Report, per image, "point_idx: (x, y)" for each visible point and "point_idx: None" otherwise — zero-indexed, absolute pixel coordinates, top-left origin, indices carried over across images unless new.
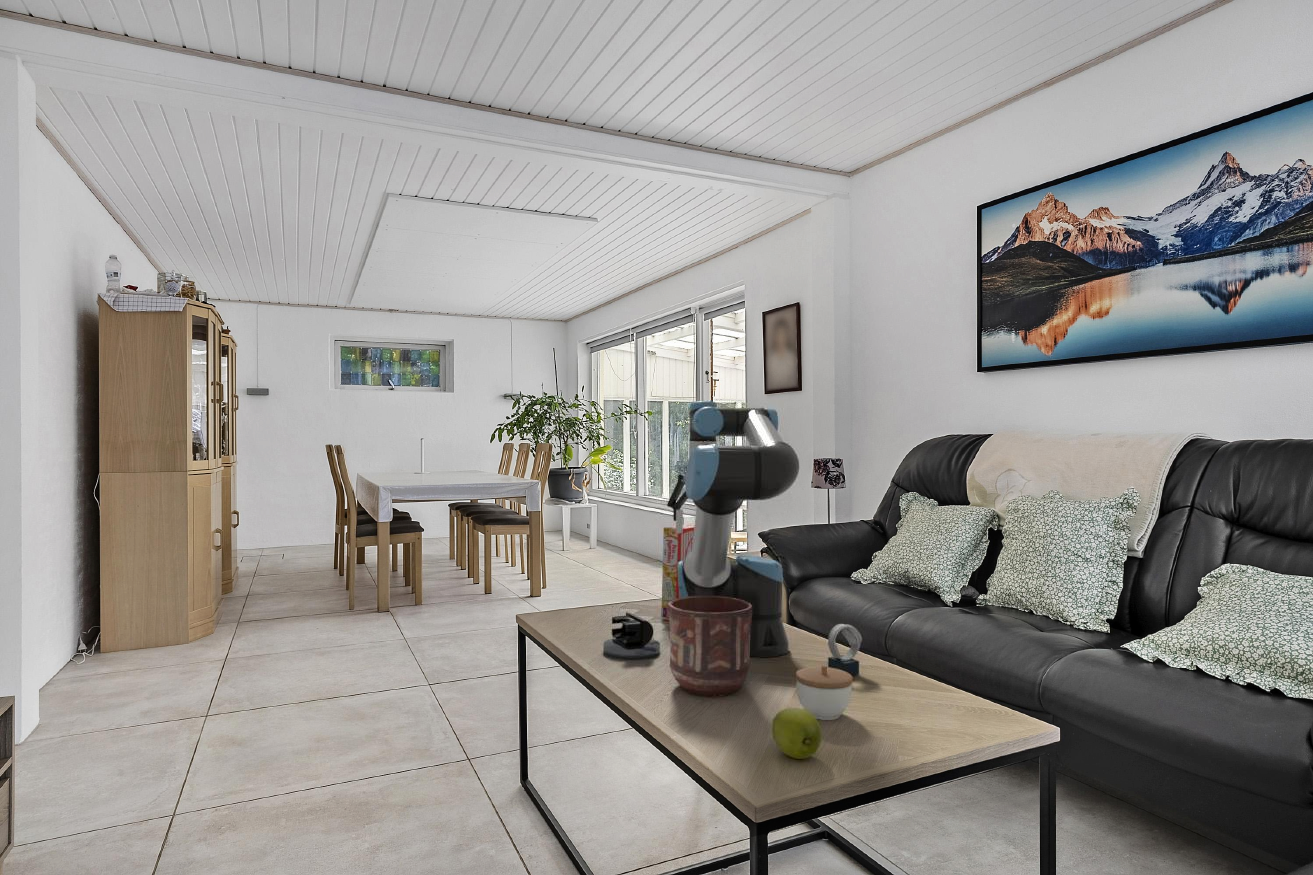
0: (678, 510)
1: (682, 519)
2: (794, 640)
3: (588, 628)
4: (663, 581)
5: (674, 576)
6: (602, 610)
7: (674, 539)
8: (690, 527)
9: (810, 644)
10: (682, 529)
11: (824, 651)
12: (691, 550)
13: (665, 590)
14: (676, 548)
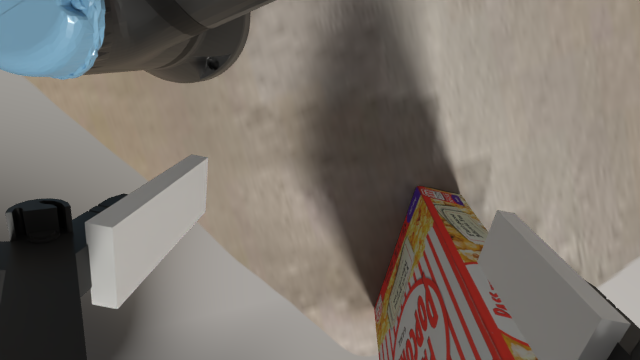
0: (600, 317)
1: (515, 315)
2: (141, 120)
3: (635, 42)
4: None
5: (459, 241)
6: (621, 231)
7: (517, 335)
8: None
9: (102, 100)
10: (484, 271)
11: None
12: (433, 357)
13: (474, 225)
14: (489, 303)
